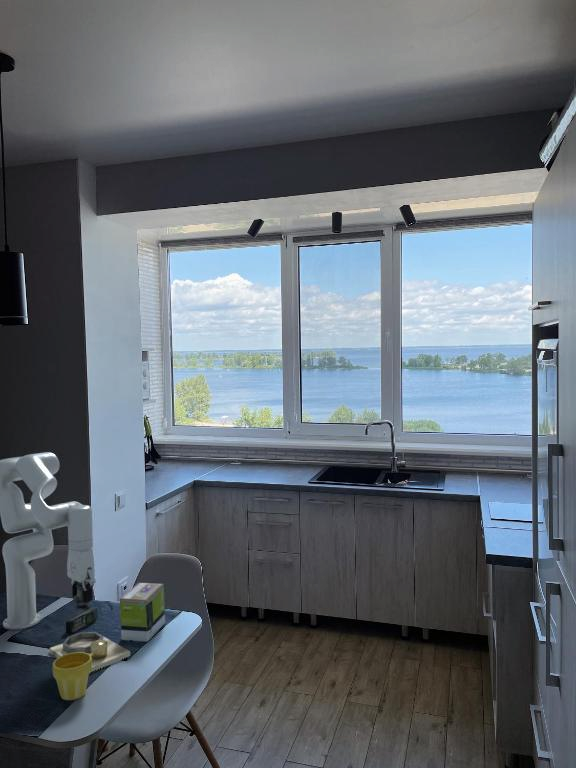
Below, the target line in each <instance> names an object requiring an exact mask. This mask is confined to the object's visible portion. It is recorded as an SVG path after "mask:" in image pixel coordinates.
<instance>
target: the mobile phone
mask: <svg viewBox="0 0 576 768" xmlns="http://www.w3.org/2000/svg"><path fill="white" fill-rule="evenodd" d="M98 617H99V615H98V608H95V607H91V608H90V609H88V610H84V611H81V612H80V613H77V614H76V615H73V616H72V617H70V618H68V619H67V620H66V621H65V633H66V634H67V635H71V634H73V633H75V632H76V631H79V630H81V629H82V628H85V627H87V626H90V625H92V624H93V623H94V622H95V621H96V620H97V619H98ZM89 624H90V625H89Z"/></svg>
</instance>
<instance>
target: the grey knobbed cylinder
mask: <svg viewBox="0 0 576 768" xmlns="http://www.w3.org/2000/svg"><path fill="white" fill-rule="evenodd" d="M86 580H88V578H86ZM85 583H86V585H87V584H88V583H87V582H85ZM76 587H77V595H76V596H74V597H72V600H73V603H74V604H75V605H76V606H75V607H74V608H73V610H74V611H76V612H84V611H86V610H88V609H91V608H92V605H91V604H89V603H90V602H91V601H89V602H86V603H83V597H82V591H83V590H84V589H83V585H82V583H80V582H77V585H76Z"/></svg>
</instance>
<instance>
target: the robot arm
mask: <svg viewBox="0 0 576 768" xmlns="http://www.w3.org/2000/svg"><path fill="white" fill-rule="evenodd" d="M59 470H60V461H59V459H58V456H57V455H56V454H54V453H52V452H49V451H48V452H47V451H44V452H39V453H30V454H25V455H23V456H16V457H9V458H3V459H0V520H1V524H2V528H3V530H4V532H5V533H7V534H15V533H21V532H25V531H29V530H32V532H30V533H26V534H21V535H18V536H17V535H16V536H14V537H12V538H11V537H10V539H9V538H8V540H6V541H5V542H4V543H3V545H2V550H1V552H2V557H3V561H4V564H5V567H4V568H5V576H6V577H5V578H6V581H5V582H6V606H7V607H6V610H7V611H6V612H7V613H6V614H7V618H5V619H4V620H3V622H2V627H3V628H4V629H6V630H11V631H13V630H14V631H15V630H24V629H28V628H31V627H34V626H36V625H37V624H39V623H40V622H41V620H42V616H41V614H39V613H37V604H36V603H37V602H36V601H37V597H36V592H37V591H36V573H35V570H34V569H33V566H31V565H30V563H29V562H30V561H32V560H37V559H40V558H43V557H46V556H49V555H50V554H51V553H52V552H53V550H54V537H53V533H52V530H55V529H60V528H63V527H67V537H68V539H67V540H68V551H67V559H66V560H67V562H66V563H67V564H66V571H67V572H66V575H67V577H68V578H69V579H70V580H71V582H70V583H71V588H72V589H71V591H72V592H71V593H72V594H71V596H72V598H73V597H74V596H76V595H77V587H76V585H77V582H80V583H82V585H83V589H84V590H83V591H82V597H83V603H86V602H89V601H90V602H92V601H93V600H94V599H93V596H94V595H93V589H94V586H95V584H96V581H97V580H96V578H95V575H96V574H95V559H94V552H93V549H94V535H93V534H94V533H93V509H92V506H90V505H88V504H86V505H85V504H82V503H80V502H78V501H74V500H73V501H68V502H63V503H57V504H53V505H47V503H46V502H45V501H44V500H45V499H46V498H48V497H49V496H50V495H51V494H52V493H53V492H55V490H56V488H57V486H58V480H57V479H56V477H55V476H54V475H55V474H56V473H57V472H58V471H59ZM16 481H17V482H18V481H23V482H24V483H25V484H26V486H27V487H28V488H29V490H30V491H31V492H32V495H31V498H30V503H25V500H24V493H23V492H22V490H21V488H20V487H18V485H17V484H16V483H14V482H16ZM86 579H87V580H86ZM85 582H88V583H87V585H86V583H85ZM90 602H89V603H90Z"/></svg>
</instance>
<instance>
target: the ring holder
mask: <svg viewBox="0 0 576 768" xmlns="http://www.w3.org/2000/svg"><path fill="white" fill-rule="evenodd" d="M103 636H104V635H102V634H101V633H98V632H97V631H86V632H85V631H81V632H78V633H75V634H73V635H69V636H67V637H66V638H65V640H64V641H63V651H65V652H66V653H74V652H84V653H90V652H91V645H89V646H86V647H70V646H69V644H70V643H73V642H76V641H78V640H81V639H95V640H103Z"/></svg>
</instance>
